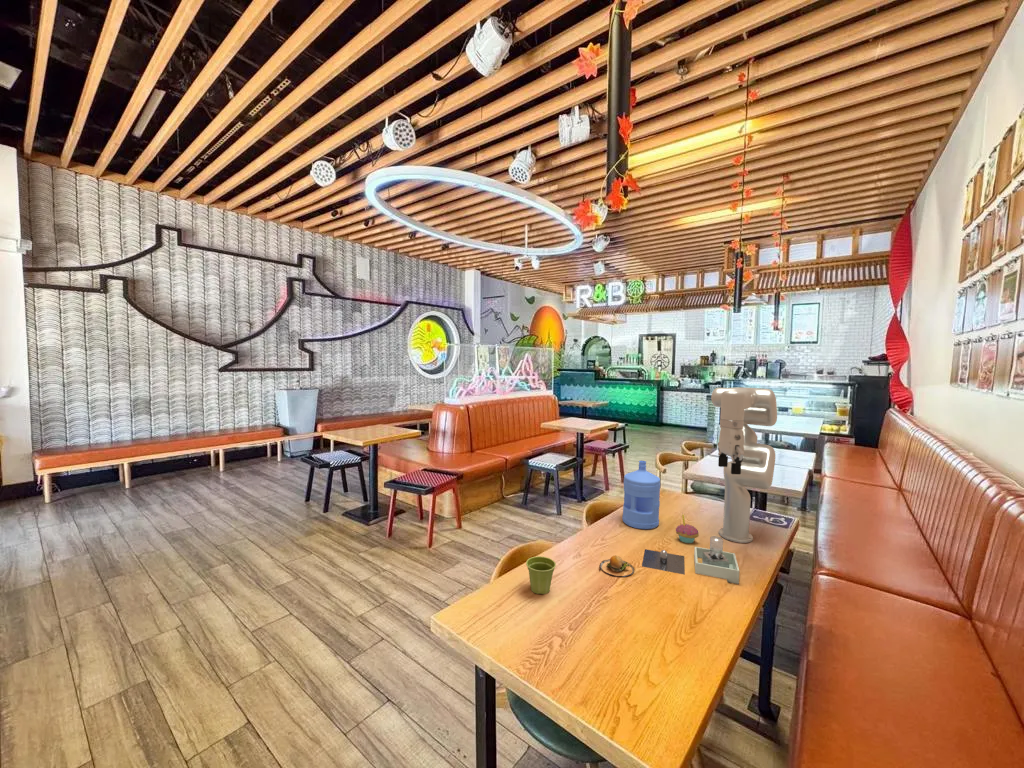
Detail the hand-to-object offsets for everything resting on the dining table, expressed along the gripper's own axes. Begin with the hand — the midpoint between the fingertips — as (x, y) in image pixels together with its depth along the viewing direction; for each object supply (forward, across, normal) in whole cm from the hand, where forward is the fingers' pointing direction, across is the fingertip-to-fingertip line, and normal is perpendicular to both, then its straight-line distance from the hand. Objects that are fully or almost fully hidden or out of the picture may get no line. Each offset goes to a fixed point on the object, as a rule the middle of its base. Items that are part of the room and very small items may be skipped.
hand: (729, 470), depth 154 cm
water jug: (+34, +31, +23) cm, 51 cm away
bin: (+33, -10, +8) cm, 36 cm away
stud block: (+33, -6, +24) cm, 42 cm away
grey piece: (+33, -10, +8) cm, 35 cm away
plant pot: (+34, -25, +70) cm, 81 cm away
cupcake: (+34, +12, +10) cm, 37 cm away
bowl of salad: (+34, -12, +43) cm, 56 cm away
